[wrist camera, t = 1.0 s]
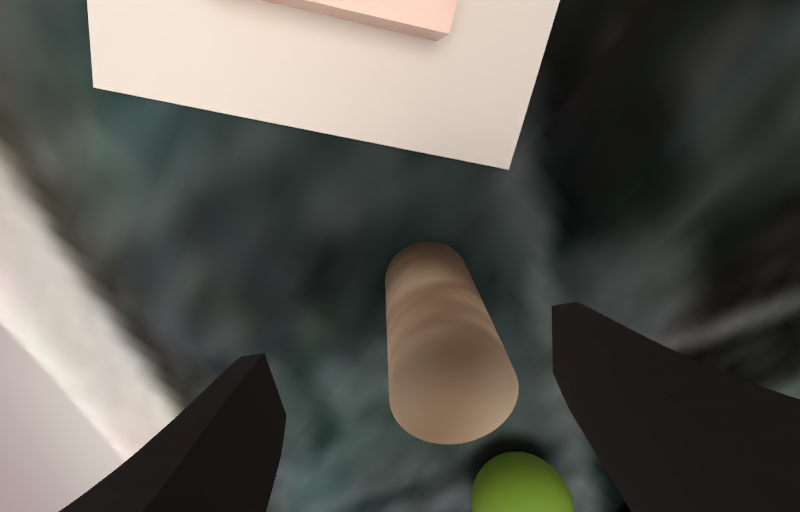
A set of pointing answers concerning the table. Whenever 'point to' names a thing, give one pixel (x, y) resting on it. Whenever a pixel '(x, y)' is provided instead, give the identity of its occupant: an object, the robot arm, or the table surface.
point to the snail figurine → (520, 486)
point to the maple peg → (443, 349)
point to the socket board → (337, 65)
